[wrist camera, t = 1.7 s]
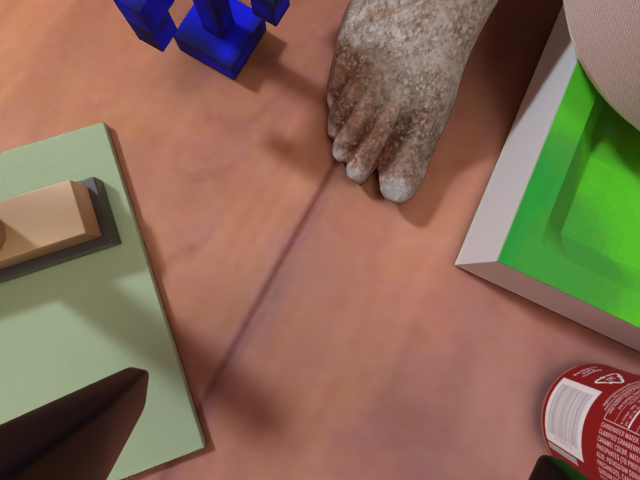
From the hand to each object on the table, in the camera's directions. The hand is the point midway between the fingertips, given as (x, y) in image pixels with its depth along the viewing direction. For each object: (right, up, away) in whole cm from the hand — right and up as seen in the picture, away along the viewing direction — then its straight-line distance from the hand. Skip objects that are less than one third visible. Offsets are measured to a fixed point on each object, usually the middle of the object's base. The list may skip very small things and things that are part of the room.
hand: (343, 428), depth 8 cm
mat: (-16, 0, +13) cm, 21 cm away
